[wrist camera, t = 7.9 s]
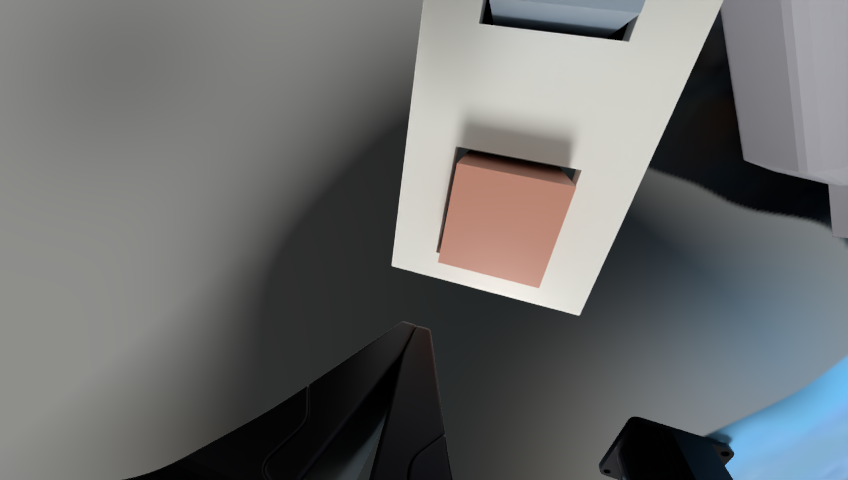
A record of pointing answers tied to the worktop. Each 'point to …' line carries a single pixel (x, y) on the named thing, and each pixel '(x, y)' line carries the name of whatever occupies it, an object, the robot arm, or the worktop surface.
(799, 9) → the charger
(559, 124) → the key console
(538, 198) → the brick key
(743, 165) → the worktop surface
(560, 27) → the slate key
